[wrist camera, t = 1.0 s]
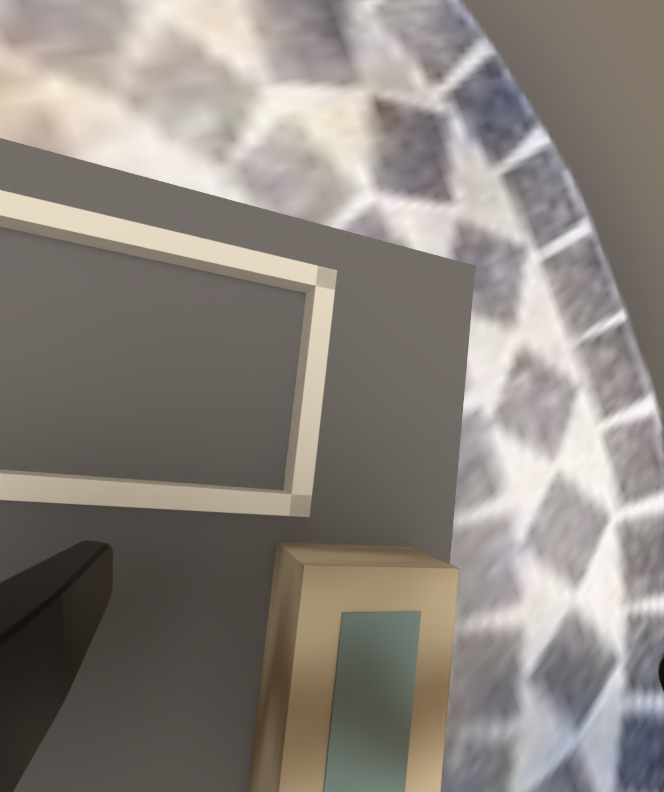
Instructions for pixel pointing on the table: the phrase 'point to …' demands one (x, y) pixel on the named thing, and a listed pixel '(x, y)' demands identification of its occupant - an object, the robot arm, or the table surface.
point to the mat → (205, 439)
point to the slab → (354, 670)
